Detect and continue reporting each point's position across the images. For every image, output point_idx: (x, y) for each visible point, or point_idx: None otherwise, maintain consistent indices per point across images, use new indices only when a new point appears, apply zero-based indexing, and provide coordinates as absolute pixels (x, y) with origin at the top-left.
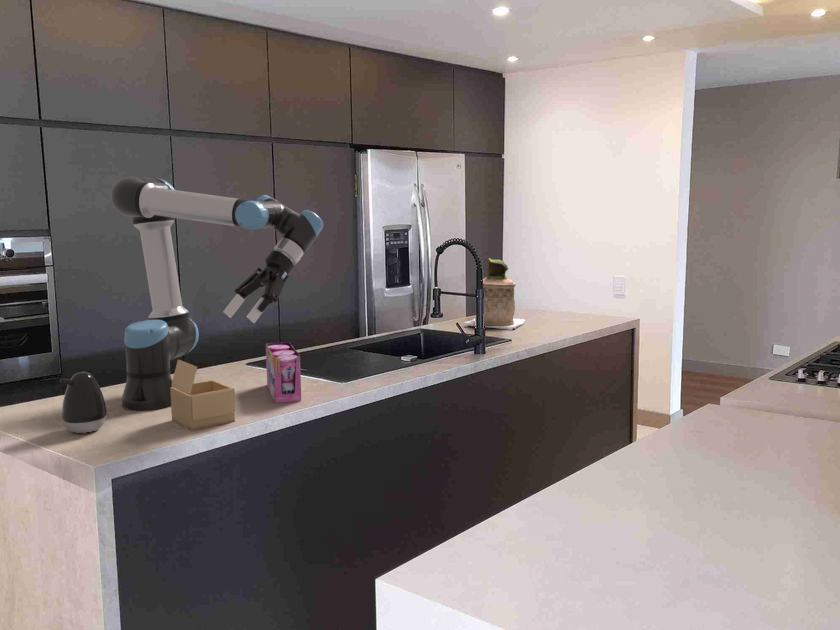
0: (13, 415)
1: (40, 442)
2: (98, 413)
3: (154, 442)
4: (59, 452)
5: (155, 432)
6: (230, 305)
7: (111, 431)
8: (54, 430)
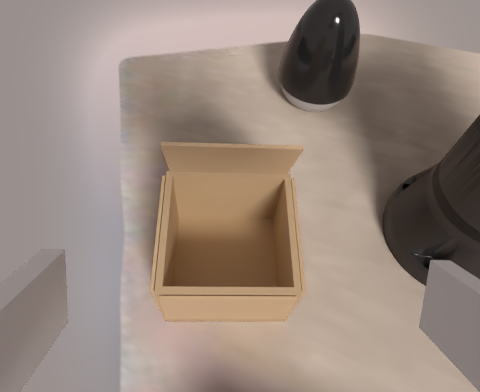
0: (464, 56)
1: None
2: (284, 77)
3: None
4: (220, 48)
5: None
6: (476, 302)
7: (276, 119)
8: None
